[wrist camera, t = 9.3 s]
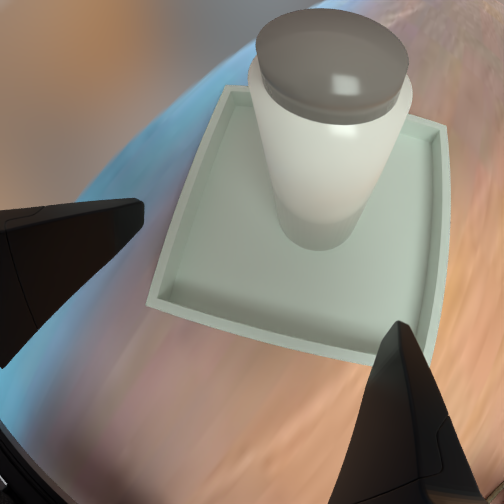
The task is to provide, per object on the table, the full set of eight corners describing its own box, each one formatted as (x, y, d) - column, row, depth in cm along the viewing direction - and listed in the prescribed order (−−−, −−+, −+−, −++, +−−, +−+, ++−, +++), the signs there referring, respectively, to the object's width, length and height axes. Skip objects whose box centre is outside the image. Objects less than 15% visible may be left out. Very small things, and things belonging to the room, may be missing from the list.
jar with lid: (368, 237, 17) (457, 94, 5) (291, 261, 17) (271, 127, 6) (339, 168, 18) (366, -1, 7) (268, 188, 19) (223, 20, 7)
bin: (411, 369, 15) (427, 374, 13) (163, 308, 19) (145, 305, 16) (435, 144, 18) (446, 125, 16) (232, 106, 22) (225, 84, 19)
